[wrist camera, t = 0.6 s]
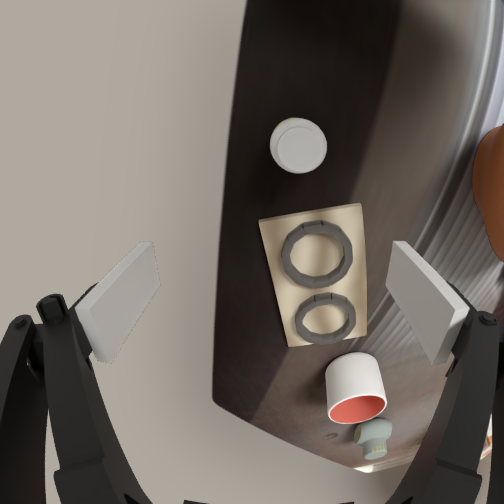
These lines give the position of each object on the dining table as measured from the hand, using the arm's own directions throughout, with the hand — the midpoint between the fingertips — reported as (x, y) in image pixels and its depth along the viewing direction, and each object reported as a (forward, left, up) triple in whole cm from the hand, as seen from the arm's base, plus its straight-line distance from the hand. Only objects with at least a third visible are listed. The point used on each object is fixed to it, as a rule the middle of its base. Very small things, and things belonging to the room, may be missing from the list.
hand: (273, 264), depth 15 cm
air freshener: (-13, +63, -21) cm, 68 cm away
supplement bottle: (-3, -4, -21) cm, 22 cm away
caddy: (-3, +16, -21) cm, 26 cm away
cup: (-7, +36, -21) cm, 42 cm away
